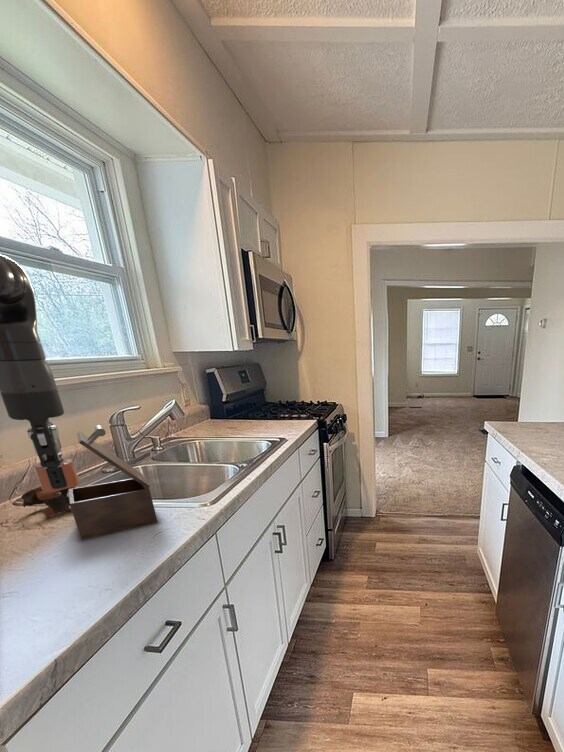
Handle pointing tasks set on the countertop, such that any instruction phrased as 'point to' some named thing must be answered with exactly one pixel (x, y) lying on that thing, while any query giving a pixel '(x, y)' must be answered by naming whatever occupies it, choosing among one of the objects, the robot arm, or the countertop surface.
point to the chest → (111, 507)
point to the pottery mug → (48, 500)
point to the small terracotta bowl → (67, 470)
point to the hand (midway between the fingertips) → (60, 482)
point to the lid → (109, 455)
